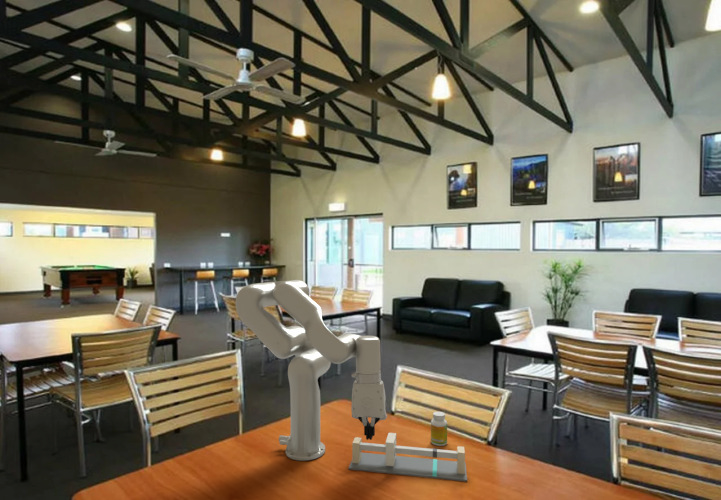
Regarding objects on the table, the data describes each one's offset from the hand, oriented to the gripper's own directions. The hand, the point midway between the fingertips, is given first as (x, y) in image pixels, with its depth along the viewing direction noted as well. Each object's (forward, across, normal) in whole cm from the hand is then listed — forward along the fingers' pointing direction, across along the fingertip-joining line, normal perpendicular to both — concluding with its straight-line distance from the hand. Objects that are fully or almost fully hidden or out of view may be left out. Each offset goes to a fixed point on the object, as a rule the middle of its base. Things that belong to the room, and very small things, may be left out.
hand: (369, 437), depth 128 cm
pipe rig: (+8, +11, 0) cm, 14 cm away
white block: (+6, +6, 0) cm, 9 cm away
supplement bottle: (+8, +20, +18) cm, 28 cm away
